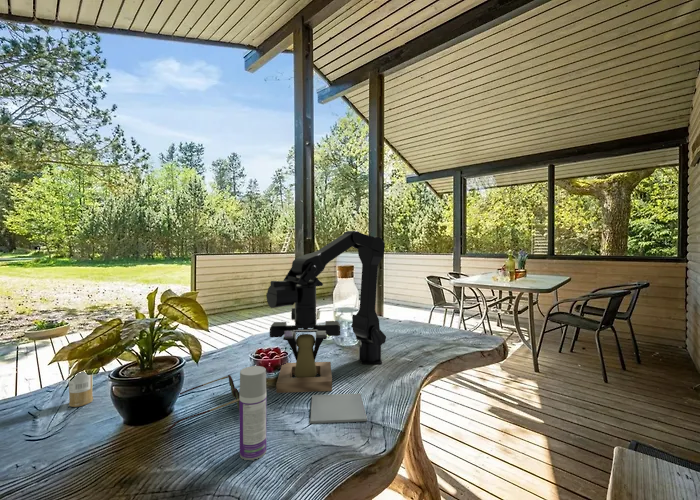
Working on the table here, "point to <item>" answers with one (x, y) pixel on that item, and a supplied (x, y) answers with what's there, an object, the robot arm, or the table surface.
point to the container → (253, 412)
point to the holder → (304, 379)
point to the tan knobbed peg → (305, 356)
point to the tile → (337, 408)
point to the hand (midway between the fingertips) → (305, 360)
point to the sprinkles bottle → (80, 389)
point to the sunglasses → (235, 395)
